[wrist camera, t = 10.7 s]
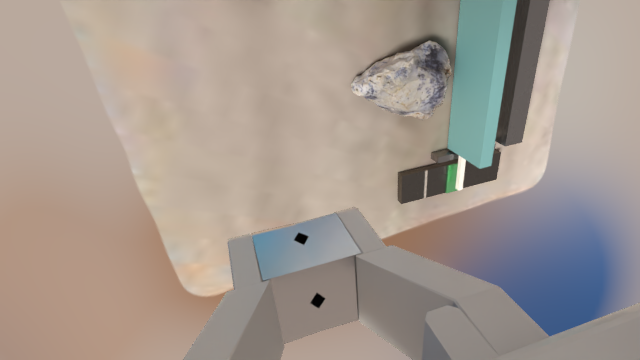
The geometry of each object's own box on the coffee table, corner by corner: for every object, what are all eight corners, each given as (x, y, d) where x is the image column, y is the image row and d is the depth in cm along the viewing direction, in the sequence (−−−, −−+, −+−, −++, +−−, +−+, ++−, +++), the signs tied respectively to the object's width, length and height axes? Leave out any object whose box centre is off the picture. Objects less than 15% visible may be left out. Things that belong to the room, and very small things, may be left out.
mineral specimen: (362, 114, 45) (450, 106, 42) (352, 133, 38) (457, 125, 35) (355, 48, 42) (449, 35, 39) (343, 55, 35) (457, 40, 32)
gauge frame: (401, -25, 35) (417, -25, 32) (533, -40, 38) (557, -41, 36) (397, 199, 47) (409, 212, 45) (497, 174, 51) (513, 184, 48)
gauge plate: (462, -18, 37) (505, -17, 32) (475, -19, 37) (520, -19, 32) (444, 183, 48) (474, 206, 43) (454, 180, 48) (485, 203, 43)
